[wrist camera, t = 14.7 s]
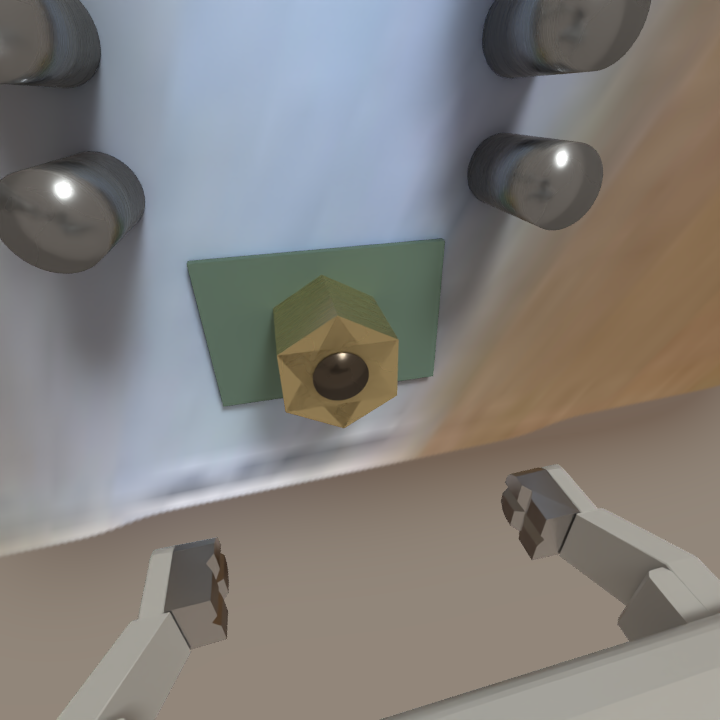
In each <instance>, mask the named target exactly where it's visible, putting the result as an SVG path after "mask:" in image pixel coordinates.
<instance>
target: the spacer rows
mask: <svg viewBox="0 0 720 720" xmlns="http://www.w3.org/2000/svg"><path fill="white" fill-rule="evenodd" d="M650 4H651V0H495V1H494V3H493V5H492V6H491V8H490V10H489V12H488V14H487V17H486V20H485V24H484V29H483V38H482V41H483V51H484V55H485V58H486V61H487V63H488V65H489V66H490V68H491V69H492V70H493V71H494V72H495V73H496V74H498V75H499V76H502V77H505V78H521V77H533V76H544V75H556V74H567V73H579V72H590V71H598V70H602V69H604V68H607V67H609V66H611V65H612V64H614V63H615V62H616V61H618V60H619V59H620V58H621V57H622V56H623V55H624V54H625V53H626V52H627V51H628V50H629V49H630V48H631V46H632V45H633V43H634V42H635V41H636V39H637V37H638V36H639V34H640V32H641V30H642V28H643V26H644V23H645V21H646V18H647V15H648V12H649V8H650ZM100 55H101V47H100V40H99V36H98V32H97V29H96V26H95V24H94V22H93V20H92V18H91V16H90V14H89V13H88V11H87V10H86V8H85V7H84V5H83V4H82V3H81V2H80V0H0V84H14V85H29V86H44V87H59V88H72V87H77V86H80V85H82V84H84V83H86V82H87V81H89V80H90V79H91V78H92V77H93V75H94V74H95V72H96V70H97V68H98V65H99V62H100ZM602 178H603V166H602V162H601V158H600V156H599V154H598V153H597V151H596V150H595V149H594V148H593V147H591V146H590V145H588V144H585V143H581V142H574V141H566V140H558V139H551V138H543V137H535V136H528V135H520V134H512V133H498V134H495V135H493V136H491V137H489V138H487V139H486V140H485V141H483V142H482V143H481V144H480V145H479V147H478V148H477V149H476V151H475V152H474V154H473V156H472V158H471V161H470V164H469V168H468V183H469V187H470V190H471V192H472V193H473V195H474V196H475V197H476V198H477V199H479V200H480V201H482V202H484V203H487V204H489V205H491V206H493V207H496V208H498V209H500V210H502V211H505V212H507V213H509V214H511V215H513V216H516V217H518V218H520V219H522V220H525V221H527V222H529V223H531V224H534V225H536V226H538V227H540V228H543V229H546V230H560V229H563V228H566V227H568V226H570V225H572V224H574V223H575V222H577V221H578V220H579V219H580V218H582V217H583V216H584V215H585V214H586V213H587V211H588V210H589V209H590V208H591V206H592V205H593V203H594V201H595V200H596V198H597V196H598V193H599V191H600V188H601V184H602ZM144 208H145V196H144V191H143V188H142V186H141V184H140V182H139V180H138V178H137V177H136V175H135V174H134V173H133V171H132V170H131V169H130V168H129V167H128V166H126V165H125V164H124V163H123V162H121V161H120V160H118V159H116V158H115V157H113V156H110V155H108V154H105V153H101V152H94V151H88V152H82V153H78V154H75V155H71V156H68V157H65V158H61V159H58V160H55V161H51V162H48V163H45V164H41V165H38V166H34V167H31V168H28V169H24V170H21V171H18V172H14V173H12V174H10V175H7V176H6V177H4V178H3V179H1V180H0V238H1V240H2V241H3V242H4V244H5V245H6V246H7V247H8V248H9V249H10V250H11V251H12V252H13V253H14V254H16V255H17V256H18V257H20V258H21V259H23V260H24V261H26V262H27V263H29V264H31V265H33V266H35V267H38V268H40V269H43V270H46V271H50V272H55V273H64V274H67V273H77V272H81V271H85V270H87V269H89V268H91V267H93V266H94V265H96V264H97V263H98V262H99V261H100V260H101V259H102V258H103V257H104V256H105V255H106V254H107V253H108V252H109V251H110V250H111V249H112V248H113V247H114V246H115V245H116V244H117V243H118V242H119V241H120V240H121V239H122V237H123V236H124V235H125V234H126V233H127V232H128V231H129V230H130V229H131V228H132V227H133V226H134V225H135V224H136V223H137V222H138V221H139V220H140V218H141V216H142V214H143V212H144Z"/></svg>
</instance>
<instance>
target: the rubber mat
mask: <svg viewBox="0 0 720 720" xmlns="http://www.w3.org/2000/svg"><path fill="white" fill-rule="evenodd" d="M444 246H445V241H444V240H443V239H432V240H420V241H409V242H398V243H387V244H375V245H364V246H353V247H341V248H330V249H319V250H307V251H296V252H285V253H273V254H262V255H251V256H239V257H228V258H217V259H206V260H194V261H188V262H187V267H188V271H189V275H190V279H191V283H192V286H193V290H194V294H195V298H196V302H197V306H198V310H199V314H200V317H201V321H202V325H203V329H204V333H205V337H206V341H207V344H208V348H209V352H210V356H211V360H212V364H213V368H214V371H215V375H216V379H217V383H218V387H219V391H220V395H221V399H222V402H223V406H231V405H238V404H245V403H251V402H258V401H265V400H272V399H279V398H283V392H282V385H281V379H280V373H279V366H278V360H277V351H276V339H275V326H274V314H273V308H274V307H275V306H277V305H278V304H280V303H281V302H283V301H284V300H285V299H287V298H288V297H290V296H291V295H293V294H294V293H296V292H297V291H299V290H300V289H302V288H303V287H305V286H306V285H307V284H309V283H310V282H312V281H313V280H315V279H316V278H318V277H319V276H321V275H324V276H326V277H329V278H331V279H333V280H335V281H338V282H340V283H342V284H345V285H347V286H349V287H351V288H354V289H356V290H358V291H361V292H363V293H365V294H367V295H370V296H372V297H373V298H374V299H375V301H376V303H377V304H378V306H379V308H380V309H381V311H382V313H383V314H384V316H385V318H386V319H387V321H388V323H389V324H390V326H391V328H392V329H393V331H394V333H395V335H396V336H397V338H398V340H399V347H398V379H397V381H402V380H409V379H416V378H423V377H430V376H433V371H434V360H435V348H436V337H437V325H438V314H439V303H440V291H441V280H442V268H443V257H444Z"/></svg>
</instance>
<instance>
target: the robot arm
mask: <svg viewBox="0 0 720 720" xmlns="http://www.w3.org/2000/svg"><path fill="white" fill-rule="evenodd" d="M505 483H506V485H507V486H508V488H507V489H506V490H505V491H504V492H503V494H502V499H501V503H502V510H503V512H504V515H505V517H506V519H507V521H508V522H509V524H510V526H512V527H514V528H515V529H517V530H519V540H520V542H521V544H522V545H523V547H524V548H525V550H526V552H527V553H528V555H529V556H530V558H531V560H535V559H539V558H544V557H549V556H553V555H557V554H560V557H562V558H563V559H564V560H566V561H567V562H568V563H570V564H571V565H572V566H574V567H575V568H576V569H578V570H579V571H580V572H582V573H583V574H584V575H586V576H587V577H588V578H590V579H591V580H592V581H594V582H595V583H597V584H598V585H599V586H600V587H602V588H603V589H604V590H606V591H607V592H609V593H610V594H611V595H613V596H614V597H615V598H617V599H618V600H619V601H621V602H622V603H623V604H625V605H626V607H625V609H624V610H623V612H622V613H621V615H620V617H619V619H618V625H619V627H620V628H621V630H622V631H623V632H624V634H625V636H626V637H627V638H628V640H629V642H626V643H623V644H620V645H616V646H613V647H610V648H607V649H604V650H601V651H597V652H594V653H591V654H588V655H585V656H581V657H578V658H575V659H572V660H569V661H565V662H562V663H559V664H556V665H553V666H550V667H546V668H543V669H540V670H537V671H533V672H530V673H527V674H524V675H521V676H518V677H514V678H511V679H508V680H505V681H502V682H498V683H495V684H492V685H489V686H486V687H482V688H479V689H476V690H473V691H470V692H466V693H463V694H460V695H457V696H454V697H450V698H447V699H444V700H441V701H438V702H435V703H432V704H428V705H425V706H422V707H419V708H415V709H412V710H409V711H406V712H403V713H400V714H396V715H393V716H390V717H387V718H383V719H380V720H720V581H719V579H718V578H716V576H715V575H714V574H713V573H712V572H711V571H710V570H709V569H708V568H707V567H706V566H705V565H704V564H703V563H702V562H701V561H700V560H699V559H698V558H697V557H696V556H694V555H692V554H690V553H688V552H686V551H685V550H683V549H681V548H679V547H677V546H675V545H673V544H671V543H669V542H667V541H665V540H663V539H662V538H660V537H658V536H656V535H654V534H652V533H650V532H648V531H646V530H644V529H642V528H640V527H639V526H637V525H635V524H633V523H631V522H629V521H627V520H625V519H623V518H621V517H619V516H617V515H615V514H614V513H612V512H610V511H608V510H606V509H604V508H597V507H596V506H595V505H594V504H593V502H592V501H591V500H590V499H589V498H588V497H587V496H586V494H585V493H584V492H583V491H582V490H581V488H580V487H579V486H578V485H577V484H576V483H575V482H574V480H573V479H572V478H571V477H570V476H569V475H568V474H567V472H566V471H565V470H564V469H563V468H562V467H561V466H559V465H558V464H555V465H550V466H546V467H542V468H534V469H530V470H526V471H521V472H517V473H513V474H510V475H509V476H508V477H507V478H506V482H505ZM220 552H221V544H220V541H219V539H218V538H212V539H207V540H202V541H196V542H192V543H186V544H181V545H175V546H171V547H166V548H161V549H157V550H154V551H153V553H152V555H151V557H150V561H149V566H148V571H147V576H146V580H145V585H144V590H143V595H142V600H141V605H140V610H139V615H138V619H137V620H134V621H131V622H130V623H129V625H128V626H127V627H126V628H125V630H124V631H123V632H122V634H121V635H120V636H119V638H118V639H117V640H116V642H115V643H114V644H113V645H112V647H111V648H110V649H109V651H108V652H107V653H106V655H105V656H104V657H103V659H102V660H101V661H100V663H99V664H98V665H97V667H96V668H95V669H94V671H93V672H92V673H91V675H90V676H89V677H88V678H87V680H86V681H85V683H84V684H83V685H82V686H81V688H80V689H79V690H78V692H77V693H76V694H75V696H74V697H73V698H72V700H71V701H70V702H69V704H68V705H67V706H66V708H65V709H64V710H63V712H62V713H61V714H60V716H59V717H58V718H57V720H155V719H156V717H157V715H158V713H159V712H160V710H161V708H162V706H163V704H164V702H165V700H166V698H167V697H168V695H169V693H170V691H171V689H172V687H173V685H174V683H175V681H176V679H177V678H178V676H179V674H180V672H181V670H182V668H183V666H184V664H185V662H186V661H187V659H188V657H189V655H190V653H191V651H190V650H191V649H194V648H198V647H201V646H205V645H208V644H211V643H215V642H219V641H222V640H225V639H227V622H228V610H227V607H226V604H225V602H224V599H225V597H226V596H227V594H228V593H229V592H228V591H229V589H228V587H229V579H228V567H227V562H226V558H225V555H223V554H221V553H220Z"/></svg>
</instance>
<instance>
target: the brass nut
mask: <svg viewBox="0 0 720 720" xmlns="http://www.w3.org/2000/svg"><path fill="white" fill-rule="evenodd" d="M273 314H274V326H275V339H276V351H277V360H278V366H279V373H280V379H281V385H282V392H283V398H284V405H285V411H286V412H287V413H290V414H294V415H298V416H301V417H305V418H309V419H312V420H316V421H320V422H323V423H327V424H331V425H334V426H338V427H342V428H345V427H347V426H348V425H350V424H352V423H353V422H355V421H356V420H358V419H360V418H361V417H363V416H364V415H366V414H368V413H369V412H371V411H373V410H374V409H376V408H377V407H379V406H381V405H382V404H384V403H385V402H387V401H389V400H390V399H392V398H394V397H395V396H397V379H398V347H399V340H398V338H397V336H396V335H395V333H394V331H393V329H392V328H391V326H390V324H389V323H388V321H387V319H386V318H385V316H384V314H383V313H382V311H381V309H380V308H379V306H378V304H377V303H376V301H375V299H374V298H373V297H372V296H370V295H367V294H365V293H363V292H361V291H358V290H356V289H354V288H351V287H349V286H347V285H345V284H342V283H340V282H338V281H335V280H333V279H331V278H329V277H326V276H324V275H321V276H319V277H318V278H316V279H315V280H313V281H312V282H310V283H309V284H307V285H306V286H305V287H303V288H302V289H300V290H299V291H297V292H296V293H294V294H293V295H291V296H290V297H288V298H287V299H285V300H284V301H283V302H281V303H280V304H278V305H277V306H275V307H274V308H273Z"/></svg>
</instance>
